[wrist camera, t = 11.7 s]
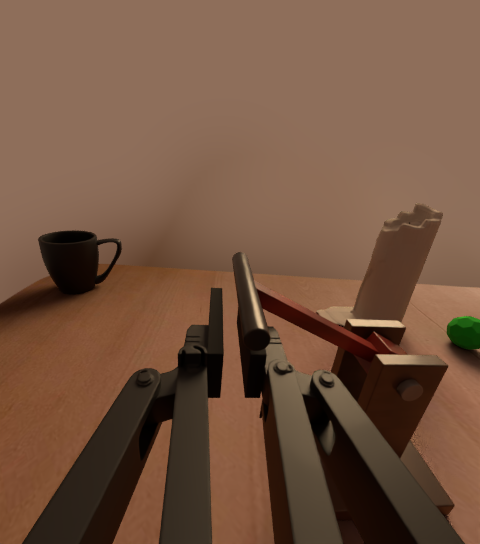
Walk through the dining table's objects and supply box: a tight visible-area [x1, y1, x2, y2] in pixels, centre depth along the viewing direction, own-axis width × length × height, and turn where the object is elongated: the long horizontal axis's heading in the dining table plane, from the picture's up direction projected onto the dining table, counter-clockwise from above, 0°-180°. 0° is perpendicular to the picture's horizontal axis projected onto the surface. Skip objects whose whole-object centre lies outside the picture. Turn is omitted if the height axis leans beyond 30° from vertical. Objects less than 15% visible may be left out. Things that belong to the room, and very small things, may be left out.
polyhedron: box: [447, 316, 480, 350], centre depth 39 cm, size 5×5×5 cm
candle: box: [317, 203, 443, 326], centre depth 41 cm, size 7×14×20 cm, turn 91°
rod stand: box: [318, 319, 455, 521], centre depth 21 cm, size 12×9×13 cm
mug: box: [38, 231, 122, 294], centre depth 45 cm, size 8×12×10 cm
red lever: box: [232, 252, 408, 375], centre depth 17 cm, size 14×10×2 cm
